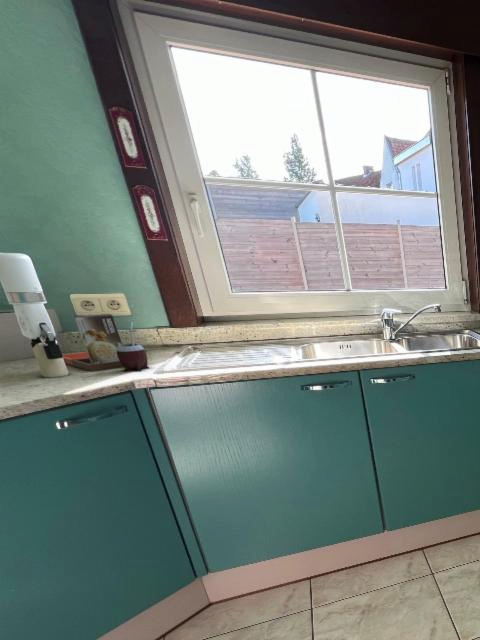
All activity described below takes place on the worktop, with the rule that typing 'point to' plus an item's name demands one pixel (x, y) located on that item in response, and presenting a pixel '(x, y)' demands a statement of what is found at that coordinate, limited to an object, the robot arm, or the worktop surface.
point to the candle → (49, 363)
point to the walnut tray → (96, 365)
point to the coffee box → (99, 337)
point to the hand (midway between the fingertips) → (49, 356)
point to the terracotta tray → (74, 357)
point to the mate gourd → (132, 355)
